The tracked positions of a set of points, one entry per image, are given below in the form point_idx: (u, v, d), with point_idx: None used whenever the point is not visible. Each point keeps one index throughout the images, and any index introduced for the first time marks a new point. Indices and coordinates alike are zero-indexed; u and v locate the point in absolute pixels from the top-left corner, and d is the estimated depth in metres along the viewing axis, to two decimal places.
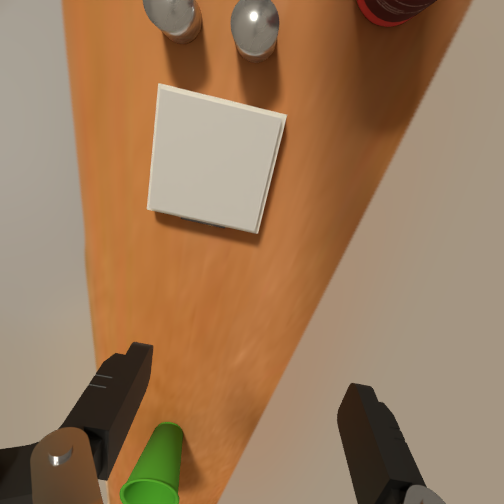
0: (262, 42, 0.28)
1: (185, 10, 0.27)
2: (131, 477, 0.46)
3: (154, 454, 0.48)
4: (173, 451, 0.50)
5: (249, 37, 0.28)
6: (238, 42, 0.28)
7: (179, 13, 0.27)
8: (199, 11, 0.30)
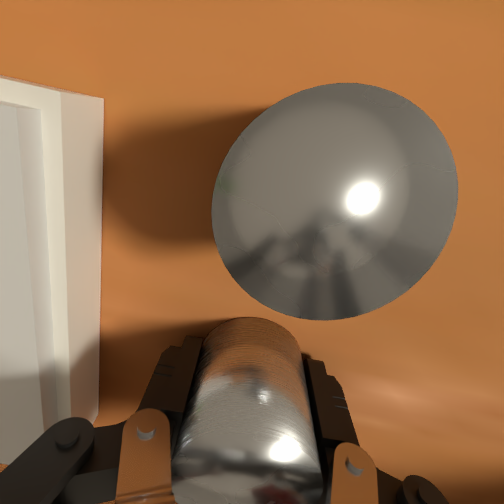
0: (198, 500, 0.09)
1: (289, 294, 0.06)
2: None
3: None
4: None
5: (208, 475, 0.08)
6: (189, 451, 0.08)
7: (280, 269, 0.06)
8: None
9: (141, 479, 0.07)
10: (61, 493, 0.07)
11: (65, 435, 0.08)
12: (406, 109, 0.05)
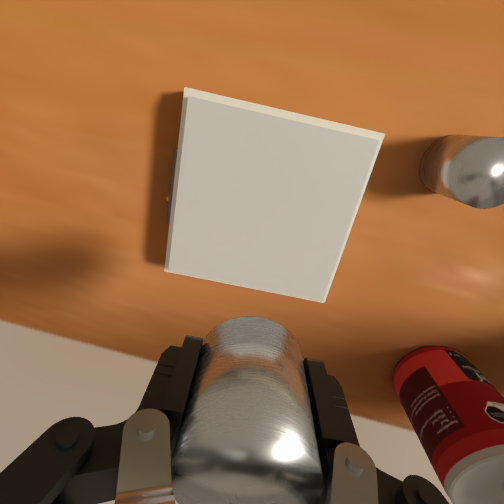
0: (198, 499, 0.09)
1: (475, 199, 0.20)
2: None
3: None
4: None
5: (208, 474, 0.08)
6: (189, 450, 0.08)
7: (474, 190, 0.20)
8: None
9: (141, 479, 0.07)
10: (61, 493, 0.07)
11: (65, 435, 0.08)
12: None
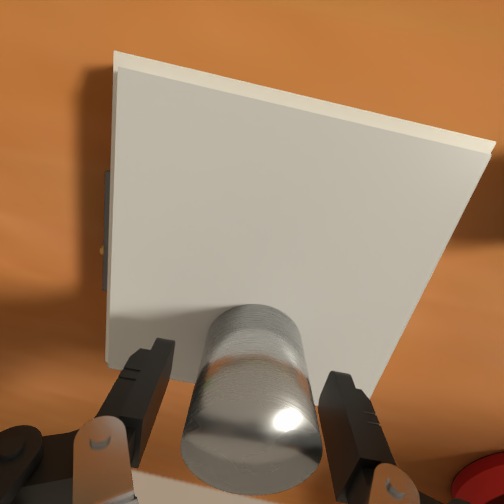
0: (208, 466, 0.10)
1: None
2: None
3: None
4: None
5: (218, 441, 0.09)
6: (201, 418, 0.09)
7: None
8: None
9: (99, 490, 0.07)
10: None
11: (8, 446, 0.07)
12: None
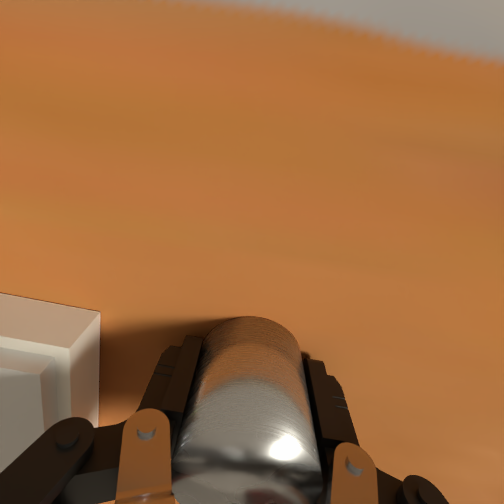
0: None
1: None
2: None
3: None
4: None
5: None
6: None
7: None
8: None
9: (141, 479, 0.07)
10: (61, 493, 0.07)
11: (65, 435, 0.08)
12: (282, 442, 0.08)
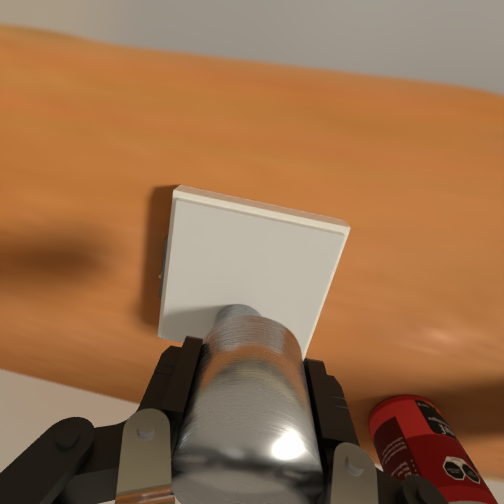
0: None
1: None
2: None
3: None
4: None
5: None
6: None
7: (215, 503, 0.09)
8: None
9: (141, 479, 0.07)
10: (61, 493, 0.07)
11: (65, 435, 0.08)
12: (283, 440, 0.08)
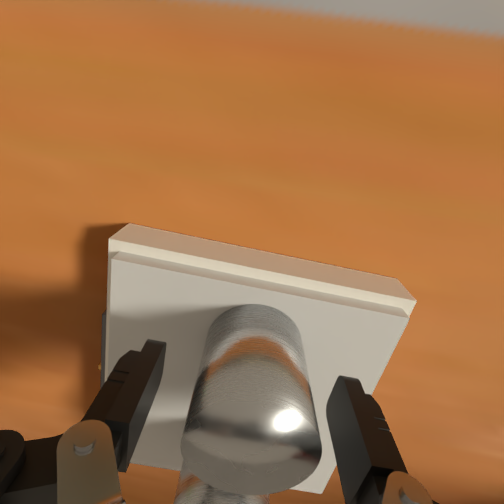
0: None
1: (230, 483, 0.10)
2: None
3: None
4: None
5: None
6: None
7: (223, 472, 0.10)
8: None
9: (86, 496, 0.07)
10: None
11: None
12: (285, 411, 0.09)
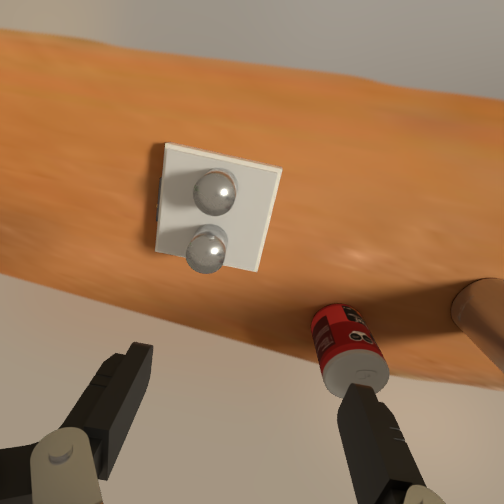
0: (192, 260, 0.35)
1: (208, 210, 0.32)
2: None
3: None
4: None
5: (196, 251, 0.34)
6: (192, 243, 0.34)
7: (205, 205, 0.32)
8: None
9: None
10: None
11: None
12: (222, 178, 0.31)
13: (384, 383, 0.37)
